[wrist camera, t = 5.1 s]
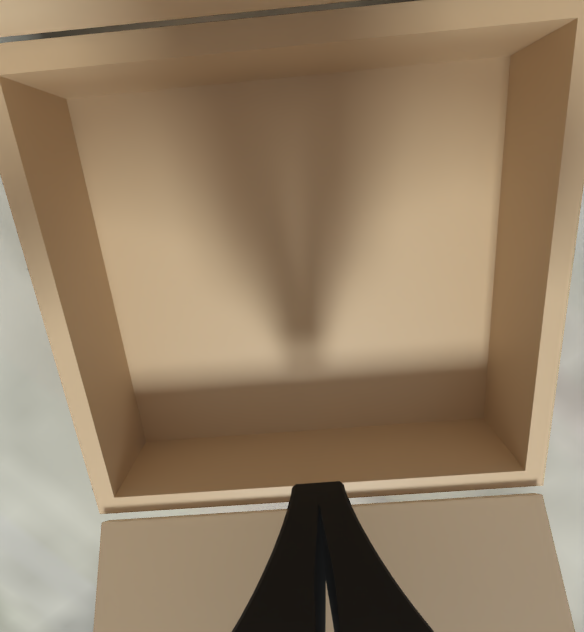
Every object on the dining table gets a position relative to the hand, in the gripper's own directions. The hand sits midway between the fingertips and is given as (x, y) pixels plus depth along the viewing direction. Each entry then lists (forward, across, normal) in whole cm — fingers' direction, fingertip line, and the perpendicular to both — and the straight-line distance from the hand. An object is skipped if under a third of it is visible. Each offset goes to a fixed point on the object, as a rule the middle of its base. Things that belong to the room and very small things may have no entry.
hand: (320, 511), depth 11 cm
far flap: (0, 0, +3) cm, 3 cm away
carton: (+5, 0, -6) cm, 7 cm away
